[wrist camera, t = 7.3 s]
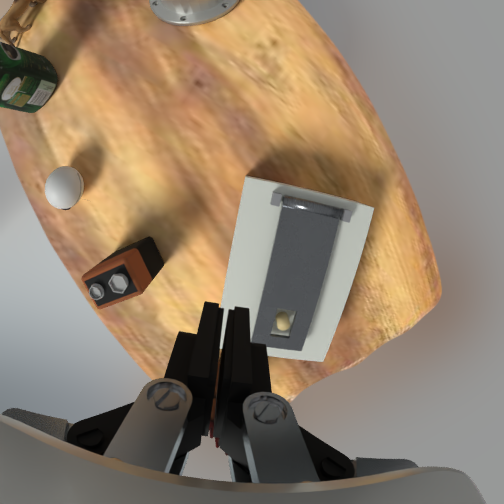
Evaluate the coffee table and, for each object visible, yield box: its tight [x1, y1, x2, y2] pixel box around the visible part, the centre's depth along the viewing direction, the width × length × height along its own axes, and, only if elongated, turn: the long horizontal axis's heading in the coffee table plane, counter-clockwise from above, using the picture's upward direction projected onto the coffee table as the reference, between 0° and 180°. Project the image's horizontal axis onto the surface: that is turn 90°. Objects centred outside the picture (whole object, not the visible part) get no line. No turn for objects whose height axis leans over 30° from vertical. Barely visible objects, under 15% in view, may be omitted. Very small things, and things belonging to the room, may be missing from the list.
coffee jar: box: [0, 42, 58, 113], centre depth 19 cm, size 10×8×19 cm
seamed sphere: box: [45, 166, 89, 210], centre depth 30 cm, size 8×6×6 cm
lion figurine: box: [0, 0, 46, 47], centre depth 19 cm, size 15×5×9 cm, turn 166°
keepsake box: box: [220, 176, 374, 362], centre depth 33 cm, size 20×14×8 cm
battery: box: [82, 237, 164, 309], centre depth 31 cm, size 4×7×10 cm, turn 111°
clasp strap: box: [251, 195, 342, 351], centre depth 30 cm, size 17×6×1 cm, turn 169°
